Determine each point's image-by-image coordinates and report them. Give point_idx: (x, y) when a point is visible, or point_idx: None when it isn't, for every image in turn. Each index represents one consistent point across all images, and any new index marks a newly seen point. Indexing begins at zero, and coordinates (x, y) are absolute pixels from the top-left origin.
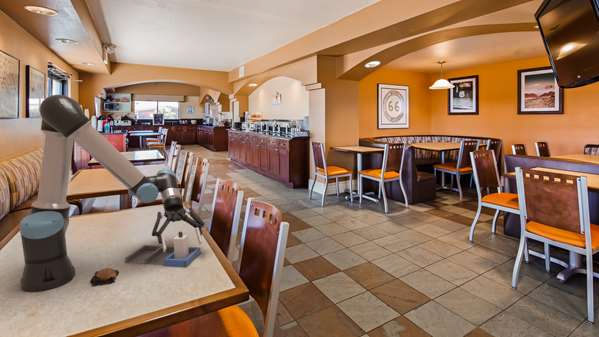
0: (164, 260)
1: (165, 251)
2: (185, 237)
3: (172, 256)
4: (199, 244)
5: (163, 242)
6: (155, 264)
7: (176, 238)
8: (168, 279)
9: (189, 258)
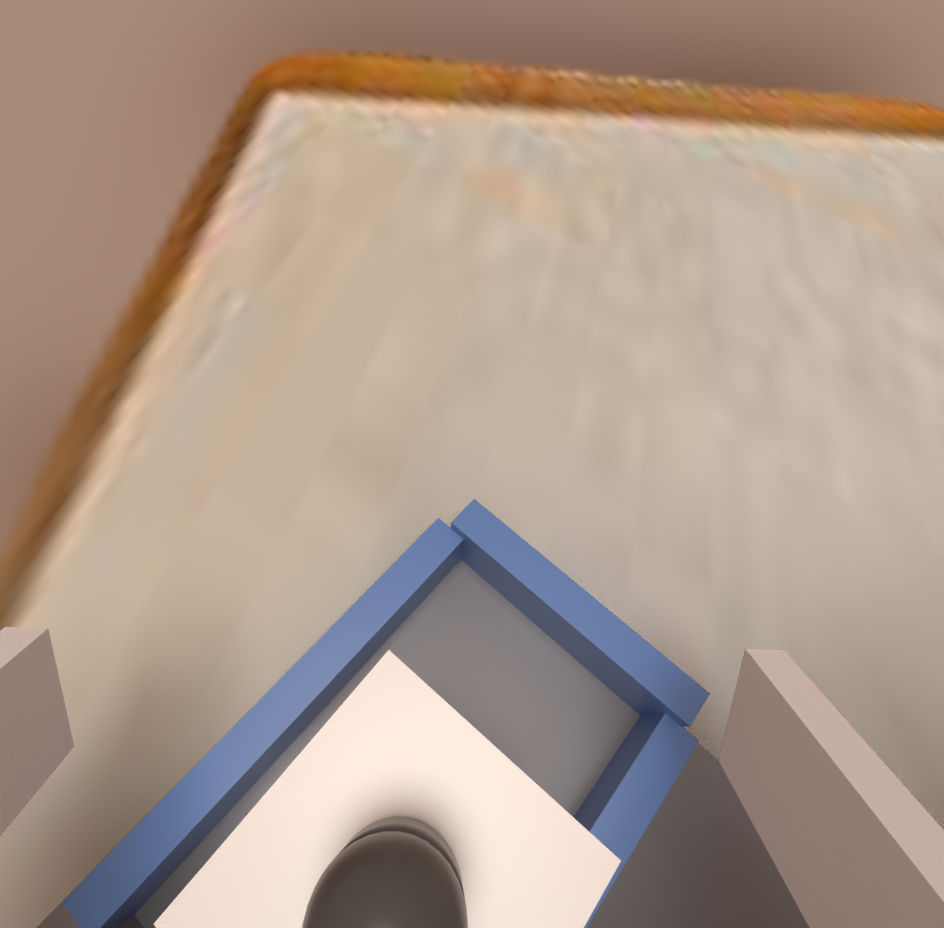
0: (692, 684)
1: (722, 752)
2: (287, 768)
3: None
4: (67, 738)
5: (873, 768)
6: None
7: (536, 825)
8: (644, 390)
9: (371, 589)
